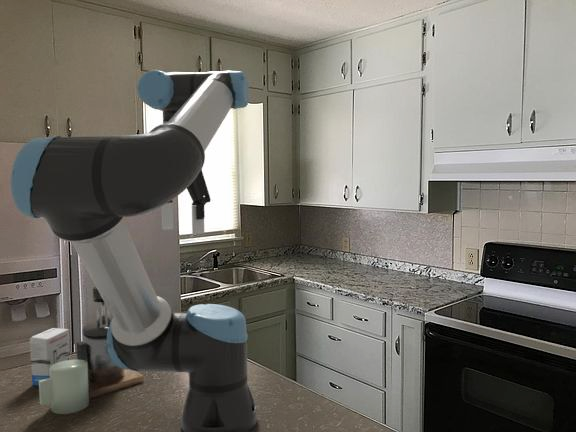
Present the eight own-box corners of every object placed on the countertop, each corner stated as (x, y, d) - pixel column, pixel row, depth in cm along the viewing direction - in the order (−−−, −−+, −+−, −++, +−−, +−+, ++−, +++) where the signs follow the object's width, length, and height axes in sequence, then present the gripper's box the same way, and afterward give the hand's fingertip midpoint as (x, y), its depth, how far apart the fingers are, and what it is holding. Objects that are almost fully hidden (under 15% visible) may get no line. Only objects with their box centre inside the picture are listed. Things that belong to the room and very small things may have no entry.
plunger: (116, 324, 119) (115, 287, 118) (98, 328, 116) (97, 290, 115) (108, 320, 122) (107, 284, 121) (91, 324, 119) (89, 287, 118)
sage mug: (94, 405, 107) (93, 365, 107) (47, 421, 101) (44, 378, 100) (81, 395, 113) (79, 356, 112) (35, 409, 106) (33, 368, 105)
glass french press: (143, 381, 120) (140, 307, 118) (90, 398, 111) (86, 318, 109) (120, 366, 129) (117, 297, 128) (69, 381, 120) (65, 307, 119)
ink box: (49, 387, 117) (46, 339, 116) (31, 385, 118) (28, 337, 117) (71, 373, 126) (69, 328, 125) (54, 371, 126) (52, 327, 126)
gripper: (224, 138, 108) (226, 234, 110) (167, 144, 127) (169, 226, 128) (195, 137, 103) (198, 237, 105) (140, 143, 121) (142, 229, 123)
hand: (182, 231), depth 117 cm, fingers open, 13 cm apart
